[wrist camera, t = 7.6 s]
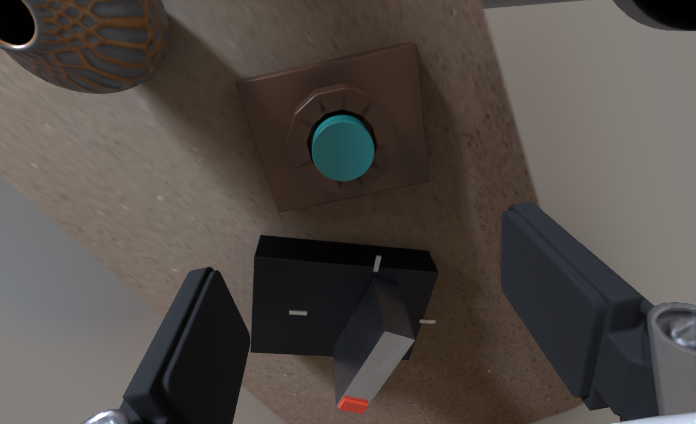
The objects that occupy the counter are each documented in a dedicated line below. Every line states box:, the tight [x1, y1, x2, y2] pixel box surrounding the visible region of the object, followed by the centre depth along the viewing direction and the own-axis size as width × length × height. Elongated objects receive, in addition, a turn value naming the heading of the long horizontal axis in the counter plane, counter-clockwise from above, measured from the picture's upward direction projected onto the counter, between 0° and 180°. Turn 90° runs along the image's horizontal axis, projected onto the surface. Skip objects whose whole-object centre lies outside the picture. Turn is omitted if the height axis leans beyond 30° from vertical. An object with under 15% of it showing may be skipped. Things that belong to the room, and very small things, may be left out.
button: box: [312, 114, 375, 181], centre depth 21 cm, size 4×4×2 cm
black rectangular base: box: [251, 235, 439, 360], centre depth 30 cm, size 15×12×3 cm
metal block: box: [334, 277, 415, 414], centre depth 26 cm, size 8×2×6 cm, turn 156°
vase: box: [0, 0, 170, 94], centre depth 17 cm, size 7×7×9 cm
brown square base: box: [236, 43, 429, 212], centre depth 23 cm, size 11×9×4 cm
